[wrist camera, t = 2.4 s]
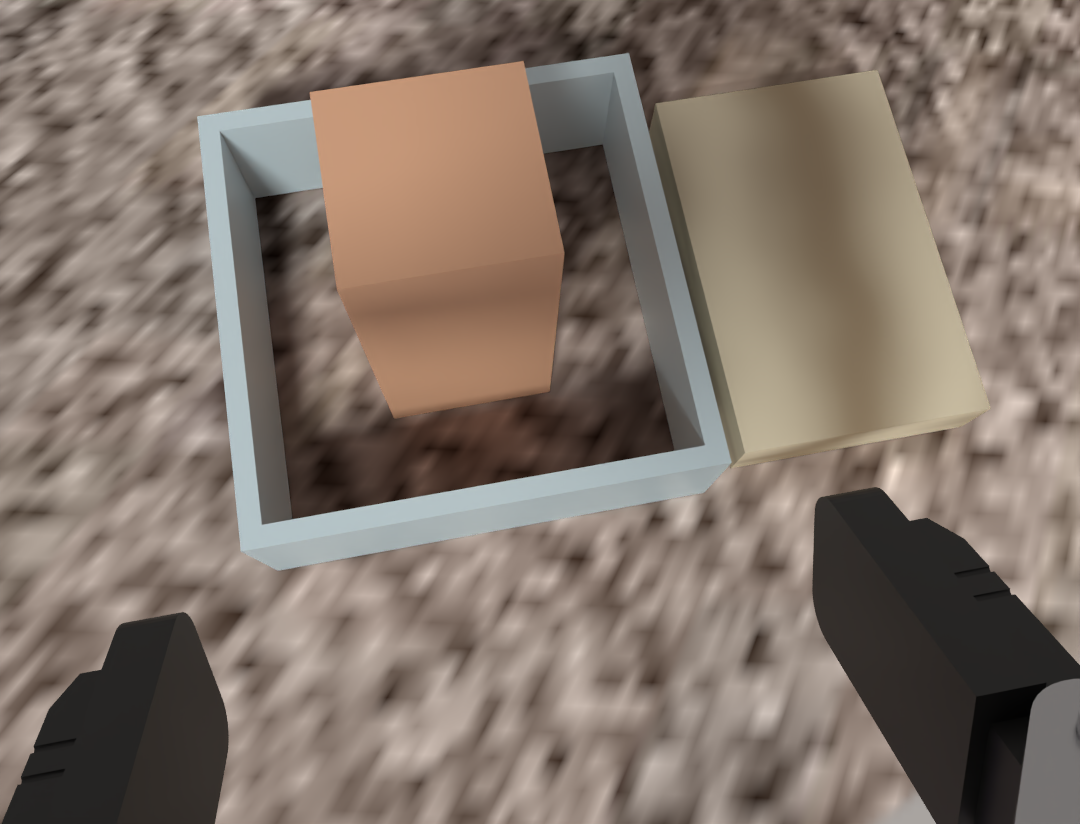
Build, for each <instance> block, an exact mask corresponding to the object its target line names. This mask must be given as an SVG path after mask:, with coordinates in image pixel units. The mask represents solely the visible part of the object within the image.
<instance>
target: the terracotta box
mask: <svg viewBox="0 0 1080 824" xmlns="http://www.w3.org/2000/svg"><path fill="white" fill-rule="evenodd" d="M310 99H311V106H312V113H313V120H314V127H315V135H316V142H317V149H318V156H319V163H320V171H321V178H322V185H323V192H324V199H325V207H326V214H327V221H328V228H329V235H330V243H331V250H332V257H333V264H334V271H335V279H336V286H337V291H338V293H339V295H340V297H341V300H342V302H343V304H344V306H345V309H346V311H347V313H348V315H349V318H350V320H351V322H352V324H353V327H354V329H355V331H356V333H357V336H358V338H359V340H360V342H361V345H362V347H363V349H364V351H365V354H366V356H367V358H368V361H369V363H370V365H371V367H372V370H373V372H374V374H375V376H376V379H377V381H378V383H379V385H380V388H381V390H382V392H383V394H384V397H385V399H386V401H387V403H388V406H389V408H390V410H391V412H392V415H393V417H394V419H395V418H401V417H407V416H413V415H418V414H424V413H430V412H436V411H442V410H447V409H453V408H459V407H465V406H471V405H476V404H482V403H488V402H494V401H500V400H505V399H511V398H517V397H523V396H529V395H535V394H540V393H546V392H550V384H551V375H552V365H553V356H554V347H555V337H556V328H557V319H558V309H559V300H560V291H561V282H562V272H563V263H564V254H565V252H564V248H563V243H562V238H561V234H560V229H559V224H558V220H557V215H556V210H555V206H554V201H553V196H552V192H551V187H550V182H549V178H548V173H547V168H546V164H545V159H544V154H543V150H542V145H541V140H540V136H539V131H538V126H537V122H536V117H535V112H534V108H533V103H532V98H531V93H530V89H529V84H528V79H527V75H526V70H525V65H524V61H520V62H513V63H506V64H499V65H492V66H486V67H479V68H472V69H465V70H458V71H451V72H444V73H438V74H431V75H424V76H417V77H410V78H403V79H396V80H390V81H383V82H376V83H369V84H362V85H355V86H348V87H341V88H335V89H328V90H321V91H314V92H310Z"/></svg>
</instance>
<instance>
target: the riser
mask: <svg viewBox="0 0 1080 824" xmlns="http://www.w3.org/2000/svg"><path fill="white" fill-rule="evenodd" d="M649 135H650V139H651V143H652V147H653V151H654V155H655V159H656V163H657V167H658V171H659V175H660V179H661V183H662V187H663V191H664V195H665V199H666V203H667V207H668V211H669V215H670V219H671V223H672V227H673V231H674V235H675V239H676V243H677V247H678V251H679V255H680V259H681V263H682V267H683V271H684V275H685V279H686V283H687V287H688V291H689V295H690V299H691V303H692V307H693V310H694V314H695V318H696V322H697V326H698V330H699V334H700V338H701V342H702V346H703V350H704V354H705V358H706V362H707V366H708V370H709V374H710V378H711V382H712V386H713V390H714V394H715V398H716V402H717V406H718V410H719V414H720V418H721V422H722V426H723V430H724V434H725V438H726V442H727V446H728V450H729V454H730V458H731V462H732V463H731V464H730V468H736V467H742V466H747V465H753V464H758V463H764V462H769V461H775V460H780V459H786V458H791V457H797V456H802V455H808V454H813V453H819V452H824V451H830V450H835V449H841V448H847V447H852V446H858V445H863V444H869V443H874V442H880V441H885V440H891V439H896V438H902V437H907V436H913V435H918V434H924V433H929V432H935V431H940V430H946V429H951V428H957V427H961V426H963V425H965V424H966V423H968V422H970V421H971V420H973V419H975V418H976V417H978V416H980V415H981V414H983V413H985V412H986V411H988V410H989V409H991V408H990V405H989V402H988V399H987V396H986V393H985V390H984V387H983V384H982V381H981V378H980V375H979V372H978V369H977V366H976V363H975V360H974V357H973V354H972V351H971V348H970V345H969V342H968V339H967V336H966V333H965V330H964V327H963V324H962V321H961V318H960V315H959V312H958V309H957V306H956V303H955V300H954V297H953V294H952V291H951V288H950V285H949V282H948V279H947V276H946V273H945V270H944V267H943V264H942V261H941V258H940V255H939V252H938V249H937V246H936V243H935V240H934V237H933V234H932V231H931V228H930V225H929V222H928V219H927V216H926V213H925V210H924V208H923V205H922V202H921V199H920V196H919V193H918V190H917V187H916V184H915V181H914V178H913V175H912V172H911V169H910V166H909V163H908V160H907V157H906V154H905V151H904V148H903V145H902V142H901V139H900V136H899V133H898V130H897V127H896V124H895V121H894V118H893V115H892V112H891V109H890V106H889V103H888V100H887V97H886V94H885V91H884V88H883V85H882V82H881V79H880V76H879V73H878V70H873V71H866V72H860V73H853V74H846V75H840V76H833V77H827V78H820V79H813V80H807V81H800V82H794V83H787V84H780V85H774V86H767V87H761V88H754V89H747V90H741V91H734V92H728V93H721V94H714V95H708V96H701V97H695V98H688V99H681V100H675V101H668V102H661V103H656V104H655V108H654V113H653V117H652V121H651V126H650V130H649Z"/></svg>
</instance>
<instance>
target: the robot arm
mask: <svg viewBox="0 0 1080 824" xmlns="http://www.w3.org/2000/svg"><path fill="white" fill-rule="evenodd" d="M813 602H814V607H815V612H816V616H817V619H818V623H819V626H820V628H821V631H822V633H823V635H824V637H825V639H826V641H827V643H828V644H829V646H830V648H831V649H832V651H833V653H834V654H835V656H836V658H837V659H838V661H839V662H840V664H841V666H842V667H843V669H844V671H845V672H846V674H847V676H848V677H849V679H850V681H851V682H852V684H853V686H854V687H855V689H856V691H857V692H858V694H859V696H860V697H861V699H862V701H863V702H864V704H865V706H866V707H867V709H868V711H869V712H870V714H871V716H872V717H873V719H874V721H875V722H876V724H877V726H878V727H879V729H880V731H881V732H882V734H883V736H884V737H885V739H886V741H887V742H888V744H889V746H890V747H891V749H892V751H893V752H894V754H895V756H896V757H897V759H898V761H899V762H900V764H901V766H902V767H903V769H904V771H905V772H906V774H907V776H908V777H909V779H910V781H911V782H912V784H913V786H914V787H915V789H916V791H917V792H918V794H919V796H920V797H921V799H922V801H923V802H924V804H925V806H926V807H927V809H928V810H929V812H930V814H931V816H932V817H933V819H934V821H935V822H936V824H1080V665H1079V664H1078V663H1077V662H1076V661H1075V660H1074V658H1073V657H1072V656H1071V655H1070V654H1069V653H1068V652H1067V651H1066V650H1065V649H1064V648H1063V646H1062V645H1061V644H1060V643H1059V642H1058V641H1057V640H1056V639H1055V638H1054V637H1053V635H1052V634H1051V633H1050V632H1049V631H1048V630H1047V629H1046V628H1045V627H1044V626H1043V625H1042V623H1041V622H1040V621H1039V620H1038V619H1037V618H1036V617H1035V616H1034V615H1033V614H1032V612H1031V611H1030V610H1029V609H1028V608H1027V607H1026V606H1025V605H1024V604H1023V603H1022V602H1021V600H1020V599H1019V598H1018V597H1017V596H1016V595H1011V593H1010V588H1009V587H1008V586H1007V585H1006V584H1005V583H1004V582H1003V581H1002V580H1001V579H1000V577H999V576H998V575H997V574H996V573H995V572H990V569H989V565H988V564H987V563H986V562H985V561H984V560H983V559H982V558H981V557H980V556H979V555H978V553H977V552H976V551H975V550H974V549H973V548H972V547H971V546H970V545H969V544H968V542H967V541H966V540H965V539H964V538H962V537H960V536H958V535H956V534H955V533H953V532H951V531H949V530H948V529H946V528H944V527H942V526H940V525H939V524H937V523H935V522H933V521H931V520H930V519H928V518H924V519H919V520H913V521H909V520H908V519H907V518H906V517H905V515H904V514H903V513H902V512H901V511H900V510H899V508H898V507H897V506H896V505H895V504H894V503H893V501H892V500H891V499H890V498H889V497H888V495H887V494H886V493H885V492H884V491H883V490H881V489H880V488H877V487H874V488H868V489H863V490H857V491H852V492H847V493H841V494H836V495H830V496H825V497H821V498H819V499H818V501H817V503H816V507H815V519H814V554H813ZM227 753H228V722H227V715H226V710H225V706H224V702H223V699H222V697H221V694H220V691H219V689H218V686H217V684H216V681H215V678H214V676H213V673H212V670H211V668H210V665H209V663H208V660H207V657H206V655H205V652H204V649H203V647H202V644H201V642H200V639H199V636H198V634H197V631H196V629H195V626H194V624H193V622H192V620H191V618H190V617H189V616H188V614H186V613H184V612H182V613H176V614H171V615H165V616H160V617H154V618H149V619H143V620H138V621H132V622H127V623H123V624H121V625H120V626H119V627H118V628H117V630H116V632H115V634H114V637H113V640H112V643H111V645H110V648H109V651H108V653H107V656H106V659H105V662H104V664H103V667H102V670H98V671H92V672H87V673H82V674H79V676H78V677H77V678H76V679H75V680H74V681H73V682H72V684H71V685H70V686H69V687H68V688H67V689H66V690H65V692H64V693H63V694H62V695H61V696H60V697H59V698H58V700H57V701H56V702H55V703H54V704H53V705H52V706H51V708H50V709H49V711H48V713H47V715H46V718H45V720H44V723H43V725H42V728H41V730H40V732H39V735H38V737H37V740H36V742H35V744H34V753H32V754H30V756H29V759H28V761H27V764H26V766H25V769H24V771H23V773H22V776H21V779H22V783H21V785H17V788H16V790H15V793H14V795H13V798H12V800H11V802H10V805H9V807H8V810H7V812H6V814H5V817H4V819H3V822H2V824H215V819H216V813H217V808H218V802H219V797H220V792H221V786H222V781H223V775H224V770H225V764H226V759H227Z"/></svg>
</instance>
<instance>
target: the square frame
mask: <svg viewBox="0 0 1080 824" xmlns="http://www.w3.org/2000/svg"><path fill="white" fill-rule="evenodd" d="M525 70H526V75H527V79H528V84H529V89H530V93H531V98H532V103H533V108H534V112H535V117H536V122H537V126H538V131H539V136H540V140H541V145H542V150H543V154H544V153H551V152H557V151H564V150H570V149H577V148H583V147H590V146H596V145H603V148H604V152H605V156H606V160H607V165H608V169H609V173H610V177H611V182H612V186H613V190H614V195H615V199H616V203H617V207H618V212H619V216H620V220H621V224H622V229H623V233H624V237H625V241H626V246H627V250H628V254H629V258H630V263H631V267H632V271H633V276H634V280H635V284H636V288H637V293H638V297H639V301H640V305H641V310H642V314H643V318H644V322H645V327H646V331H647V335H648V339H649V344H650V348H651V352H652V356H653V361H654V365H655V369H656V374H657V378H658V382H659V386H660V391H661V395H662V399H663V403H664V408H665V412H666V416H667V420H668V425H669V429H670V433H671V437H672V442H673V446H674V450H675V451H671V452H665V453H660V454H654V455H649V456H643V457H638V458H632V459H626V460H621V461H615V462H610V463H604V464H599V465H593V466H587V467H582V468H576V469H571V470H565V471H559V472H554V473H548V474H543V475H537V476H532V477H526V478H520V479H515V480H509V481H504V482H498V483H493V484H487V485H481V486H476V487H470V488H465V489H459V490H453V491H448V492H442V493H437V494H431V495H426V496H420V497H414V498H409V499H403V500H398V501H392V502H387V503H381V504H375V505H370V506H364V507H359V508H353V509H348V510H342V511H336V512H331V513H325V514H320V515H314V516H308V517H303V518H297V519H292V511H291V502H290V493H289V485H288V476H287V468H286V459H285V451H284V442H283V433H282V425H281V416H280V408H279V399H278V390H277V382H276V373H275V365H274V356H273V348H272V339H271V330H270V322H269V313H268V305H267V296H266V287H265V279H264V270H263V262H262V253H261V245H260V236H259V227H258V219H257V210H256V202H255V198H259V197H265V196H272V195H278V194H285V193H291V192H298V191H304V190H311V189H317V188H323V185H322V178H321V171H320V163H319V156H318V149H317V142H316V135H315V127H314V120H313V113H312V106H311V100H306V101H299V102H293V103H286V104H279V105H272V106H266V107H259V108H252V109H245V110H238V111H232V112H225V113H218V114H211V115H204V116H198V127H199V137H200V147H201V157H202V167H203V177H204V187H205V197H206V207H207V217H208V227H209V237H210V247H211V257H212V267H213V277H214V287H215V297H216V307H217V317H218V327H219V337H220V347H221V357H222V367H223V377H224V386H225V396H226V406H227V416H228V426H229V436H230V446H231V456H232V466H233V476H234V486H235V496H236V506H237V516H238V526H239V536H240V546H241V552H243V553H245V554H247V555H249V556H251V557H253V558H255V559H256V560H258V561H260V562H262V563H264V564H266V565H268V566H270V567H272V568H274V569H276V570H278V571H279V570H285V569H290V568H296V567H301V566H306V565H312V564H317V563H323V562H328V561H334V560H339V559H345V558H350V557H356V556H361V555H367V554H372V553H377V552H383V551H388V550H394V549H399V548H405V547H410V546H416V545H421V544H427V543H432V542H438V541H443V540H448V539H454V538H459V537H465V536H470V535H476V534H481V533H487V532H492V531H498V530H503V529H509V528H514V527H520V526H525V525H530V524H536V523H541V522H547V521H552V520H558V519H563V518H569V517H574V516H580V515H585V514H591V513H596V512H601V511H607V510H612V509H618V508H623V507H629V506H634V505H640V504H645V503H651V502H656V501H662V500H667V499H673V498H678V497H683V496H689V495H694V494H700V493H704V492H705V491H706V490H707V489H708V488H709V487H710V486H711V485H712V484H713V482H714V481H715V480H716V479H717V478H718V477H719V476H720V475H721V474H722V473H723V472H724V471H725V469H726V468H727V467H728V466H729V465H730V464H731V463H732V462H731V458H730V454H729V450H728V446H727V442H726V438H725V434H724V430H723V426H722V422H721V418H720V414H719V410H718V406H717V402H716V398H715V394H714V390H713V386H712V382H711V378H710V374H709V370H708V366H707V362H706V358H705V354H704V350H703V346H702V342H701V338H700V334H699V330H698V326H697V322H696V318H695V314H694V310H693V307H692V303H691V299H690V295H689V291H688V287H687V283H686V279H685V275H684V271H683V267H682V263H681V259H680V255H679V251H678V247H677V243H676V239H675V235H674V231H673V227H672V223H671V219H670V215H669V211H668V207H667V203H666V199H665V195H664V191H663V187H662V183H661V179H660V175H659V171H658V167H657V163H656V159H655V155H654V151H653V147H652V143H651V139H650V135H649V131H648V127H647V123H646V119H645V115H644V111H643V107H642V103H641V99H640V95H639V91H638V87H637V83H636V79H635V75H634V72H633V68H632V64H631V60H630V56H629V53H626V54H619V55H612V56H605V57H598V58H592V59H585V60H578V61H571V62H565V63H558V64H551V65H544V66H537V67H531V68H525Z"/></svg>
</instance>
